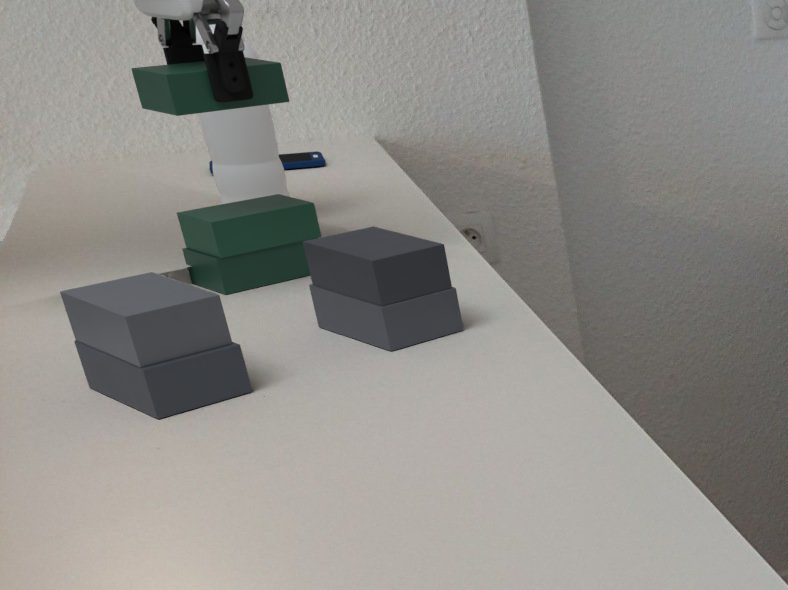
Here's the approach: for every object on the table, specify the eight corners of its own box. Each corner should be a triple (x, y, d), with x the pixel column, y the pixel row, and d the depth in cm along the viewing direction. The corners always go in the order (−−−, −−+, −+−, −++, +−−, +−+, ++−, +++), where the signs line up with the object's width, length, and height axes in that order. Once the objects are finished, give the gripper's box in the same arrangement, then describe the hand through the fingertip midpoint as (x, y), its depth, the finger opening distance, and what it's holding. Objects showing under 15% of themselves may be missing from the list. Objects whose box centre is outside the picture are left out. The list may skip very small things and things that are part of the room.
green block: (176, 116, 110) (165, 74, 108) (141, 108, 113) (130, 68, 111) (290, 102, 117) (281, 62, 115) (253, 95, 120) (244, 57, 119)
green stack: (226, 295, 120) (207, 222, 117) (191, 283, 124) (171, 212, 121) (329, 271, 128) (314, 202, 124) (293, 260, 131) (277, 193, 128)
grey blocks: (158, 419, 93) (126, 318, 89) (89, 387, 98) (57, 291, 95) (464, 330, 111) (448, 243, 107) (390, 307, 117) (373, 224, 113)
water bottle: (219, 235, 140) (153, -13, 129) (237, 220, 146) (176, -18, 135) (288, 232, 141) (229, -14, 130) (303, 217, 148) (248, -18, 136)
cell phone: (326, 165, 173) (325, 159, 173) (210, 175, 168) (209, 169, 167) (322, 156, 179) (320, 150, 179) (210, 165, 173) (208, 159, 173)
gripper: (63, -129, 108) (125, 92, 116) (159, -130, 99) (220, 111, 107) (155, -129, 114) (209, 83, 122) (255, -129, 104) (306, 100, 113)
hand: (214, 94), depth 114 cm, fingers closed on green block, 6 cm apart
